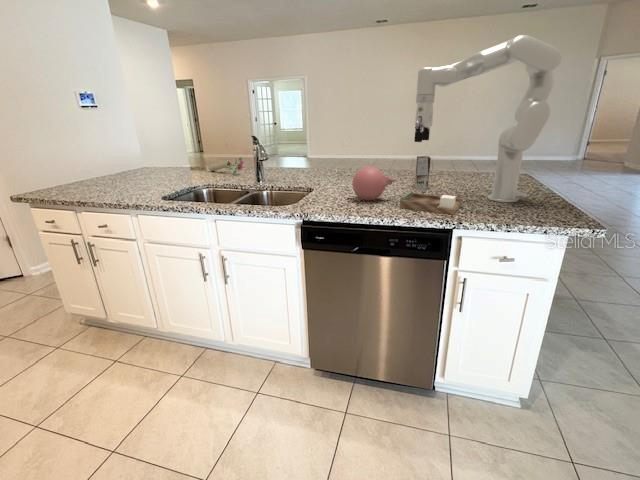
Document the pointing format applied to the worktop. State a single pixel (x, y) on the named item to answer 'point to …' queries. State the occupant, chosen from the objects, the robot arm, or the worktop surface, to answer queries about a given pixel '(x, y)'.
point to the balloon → (370, 183)
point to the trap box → (427, 203)
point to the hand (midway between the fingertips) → (421, 141)
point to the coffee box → (422, 172)
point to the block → (447, 201)
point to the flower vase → (227, 166)
